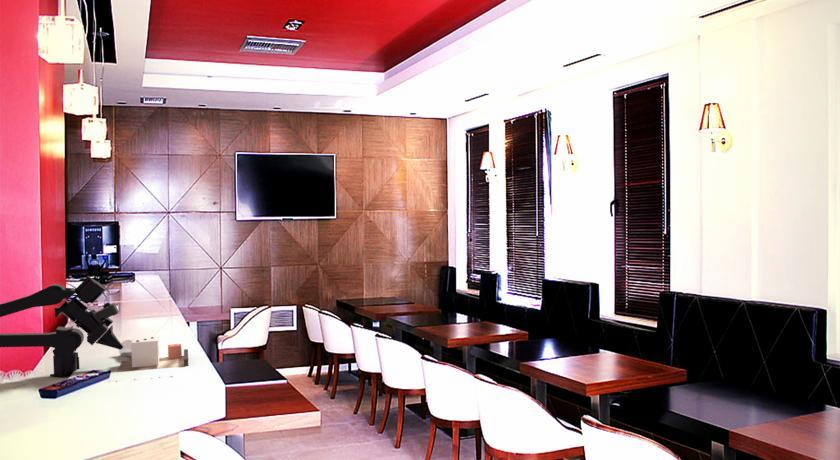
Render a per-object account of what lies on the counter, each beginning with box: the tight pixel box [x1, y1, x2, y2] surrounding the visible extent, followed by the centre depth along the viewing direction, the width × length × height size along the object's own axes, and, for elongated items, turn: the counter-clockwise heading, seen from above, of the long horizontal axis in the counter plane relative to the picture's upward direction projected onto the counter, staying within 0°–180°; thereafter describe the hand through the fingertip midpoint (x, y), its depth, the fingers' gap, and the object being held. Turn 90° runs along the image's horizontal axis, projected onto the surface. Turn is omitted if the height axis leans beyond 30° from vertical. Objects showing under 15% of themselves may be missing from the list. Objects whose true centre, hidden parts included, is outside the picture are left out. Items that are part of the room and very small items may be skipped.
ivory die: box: [131, 336, 160, 367], centre depth 220 cm, size 8×8×8 cm
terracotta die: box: [167, 343, 183, 359], centre depth 229 cm, size 4×4×4 cm
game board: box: [117, 348, 189, 373], centre depth 221 cm, size 20×18×3 cm
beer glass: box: [118, 339, 133, 358], centre depth 232 cm, size 7×7×15 cm
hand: (122, 348), depth 218 cm, fingers closed
